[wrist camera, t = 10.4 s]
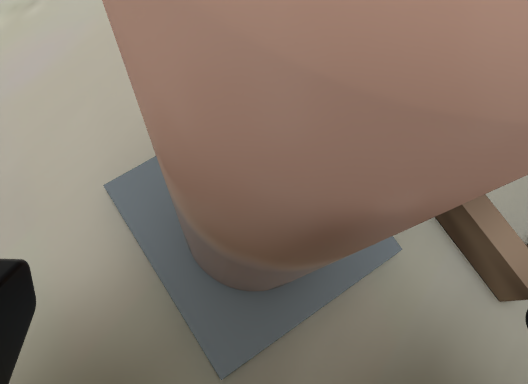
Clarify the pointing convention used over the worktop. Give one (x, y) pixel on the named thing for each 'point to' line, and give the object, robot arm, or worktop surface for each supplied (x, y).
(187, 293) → the mat
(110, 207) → the worktop surface
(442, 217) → the holder
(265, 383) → the worktop surface
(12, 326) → the robot arm
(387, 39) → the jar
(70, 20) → the worktop surface
